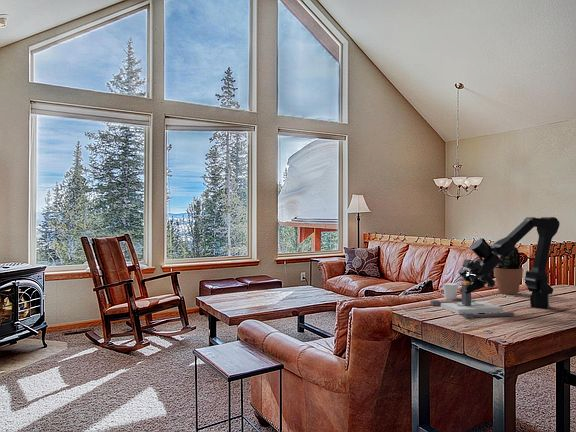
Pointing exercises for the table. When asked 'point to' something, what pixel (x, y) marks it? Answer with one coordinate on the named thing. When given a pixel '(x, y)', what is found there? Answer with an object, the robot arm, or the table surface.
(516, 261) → the potted plant
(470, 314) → the pair of grey rods
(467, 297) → the breaker lever
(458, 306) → the breaker panel
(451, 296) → the white cup
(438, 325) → the table surface
